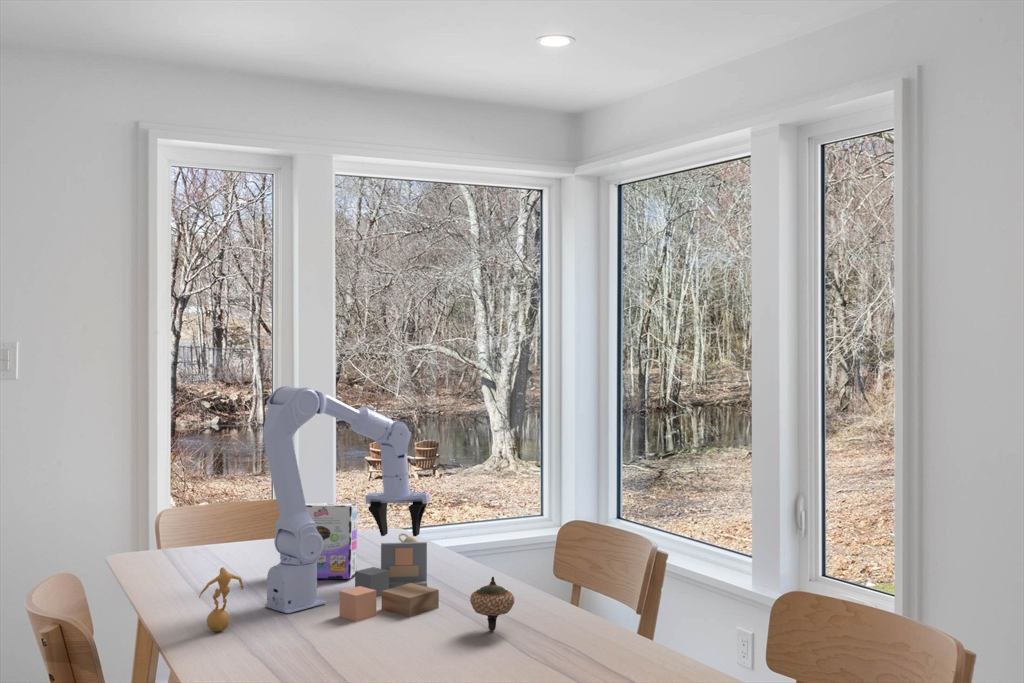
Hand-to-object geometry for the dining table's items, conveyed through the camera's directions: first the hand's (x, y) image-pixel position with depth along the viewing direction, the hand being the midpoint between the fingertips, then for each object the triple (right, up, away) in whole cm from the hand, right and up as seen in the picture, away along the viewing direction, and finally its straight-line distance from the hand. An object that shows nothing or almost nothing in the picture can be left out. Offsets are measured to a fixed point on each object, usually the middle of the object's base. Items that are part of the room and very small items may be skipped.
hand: (400, 535), depth 198 cm
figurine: (-28, -10, -35) cm, 46 cm away
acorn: (+21, -10, -34) cm, 41 cm away
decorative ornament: (0, -11, +25) cm, 28 cm away
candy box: (-18, -11, +5) cm, 21 cm away
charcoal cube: (-5, -11, -9) cm, 15 cm away
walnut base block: (+4, -11, -20) cm, 23 cm away
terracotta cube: (-5, -11, -25) cm, 27 cm away
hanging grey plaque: (+1, -11, -1) cm, 11 cm away
